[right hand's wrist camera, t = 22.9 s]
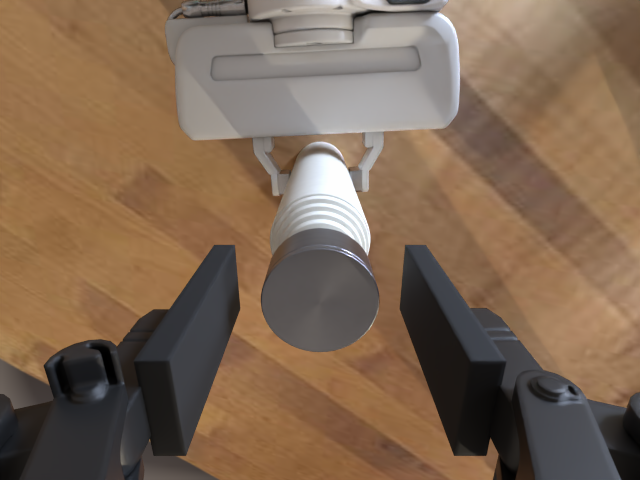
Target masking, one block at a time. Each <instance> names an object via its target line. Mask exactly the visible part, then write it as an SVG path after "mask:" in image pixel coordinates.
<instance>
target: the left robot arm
mask: <svg viewBox="0 0 640 480" xmlns="http://www.w3.org/2000/svg"><path fill="white" fill-rule="evenodd" d="M447 2H448V0H212V1H211V0H208V1H202V0H187V1H184V2H182V4H181V7H180V8H178V9H176V10H174V11H173V12H172V13H171V14H170V16H169V17H168V19H167V21H166V24H165V35H166V41H167V47H168V52H169V56H170V59H171V61H172V62H173V64H174V65H175V91H176V104H177V114H178V121H179V126H180V128H181V129H182V130H183V131H184V132H185V134H186V135H187V136H188V137H189V138H190V139H192V140H215V139H236V138H252V140H253V149H254V154H255V155H256V157H257V158H258V160H259V161H260V163H261V164H262V165H263V167H264V168H265V170H266V171H267V172H268V174H270V175H271V184H272V193H273V196H279V195H283V194H284V192H285V189H286V186H287V183H288V180H289V178H290V175H291V170H281V169H280V167H279V166H278V164H277V163H276V161H275V160H274V158H273V156H272V155H271V153H270V152H271V151H272V150H273V149H274V148H275V142H274V137H278V136H298V135H319V134H340V133H361V132H362V143H363V144H364V145H365V147H367V150H366V152H365V154H364V156H363V158H362V160H361V161H360V163H359V165H358V166H357V167H348V172H349V175H350V178H351V180H352V183H353V186H354V189H355V191H356V192H368V189H369V170H370V169H371V168H372V166H373V164H374V163H375V161H376V159H377V157H378V156H379V154H380V152H381V150H382V149H383V140H384V131H402V130H423V129H443V128H446V127H447V126H448V125H449V124H450V123H451V121H452V120H453V119H454V117H455V116H456V115H457V112H458V106H459V91H460V65H459V47H458V39H457V35H456V31H455V29H454V27H453V25H452V23H451V22H450V20H449V19H448V18H447V17H445V16H444V15H442V14H440V13H438V12H439V11H440V10H441V9H442V8H443V7H444V6H445V5H446V4H447ZM181 14H183V15H184V17H185V18H184V19H176V18H177V17H178V16H179V15H181ZM248 15H249V17H248ZM210 16H215V17H210ZM249 22H250V23H249Z"/></svg>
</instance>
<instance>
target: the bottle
mask: <svg viewBox="0 0 640 480" xmlns="http://www.w3.org/2000/svg"><path fill="white" fill-rule="evenodd" d="M313 228H327V229H333V230H336V231H339V232H342V233H344V234H346V235H348V236H350V237H351V238H353V239H354V240H355V241H356V242H358V243H359V244H360V246H361V247H362V248H363V249H364V251H365V252H366V254H367V256H368V252H369V248H370V232H369V227H368V224H367V222H366V219H365V216H364V213H363V211H362V208H361V205H360V202H359V200H358V197H357V194H356V191H355V189H354V186H353V183H352V180H351V178H350V175H349V172H348V169H347V167H346V164H345V161H344V158H343V156H342V154H341V153H340V151H339V150H338V149H337V148H336V147H335V146H333V145H331V144H329V143H326V142H314V143H311V144H309V145H307V146H306V147H304V148H303V149H302V150H301V151H300V153H299V154H298V156H297V158H296V161H295V164H294V167H293V169H292V172H291V175H290V178H289V180H288V183H287V186H286V189H285V192H284V194H283V197H282V200H281V203H280V205H279V208H278V211H277V214H276V216H275V219H274V222H273V225H272V228H271V233H270V246H271V251H272V255H273V254H274V253H275V251H276V250H277V248H278V247H279V246H280V245H281V244H282V243H283V242H284V241H285V240H286V239H287V238H289V237H291V236H292V235H294V234H296V233H298V232H301V231H304V230H307V229H313Z"/></svg>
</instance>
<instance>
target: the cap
mask: <svg viewBox="0 0 640 480" xmlns="http://www.w3.org/2000/svg"><path fill="white" fill-rule="evenodd" d="M261 306H262V311H263V315H264V317H265V320H266V322H267V324H268V325H269V327H270V328H271V329H272V331H273V332H274V333H275V334H276V335H277V336H278V337H279V338H280V339H282V340H283V341H285V342H286V343H288V344H290V345H292V346H294V347H296V348H299V349H302V350H306V351H312V352H328V351H334V350H338V349H341V348H344V347H346V346H349V345H351V344H352V343H354V342H356V341H357V340H358V339H360V338H361V337H362V336H363V335H364V334H365V333H366V332H367V331H368V330H369V329H370V327H371V326H372V324H373V322H374V320H375V318H376V316H377V312H378V308H379V292H378V287H377V284H376V281H375V277H374V274H373V271H372V267H371V264H370V261H369V258H368V256H367V254H366V252H365V251H364V249H363V248H362V247H361V246H360V244H359V243H358V242H356V241H355V240H354V239H353V238H351V237H350V236H348V235H346V234H344V233H342V232H339V231H336V230H333V229H327V228H313V229H307V230H304V231H301V232H298V233H296V234H294V235H292V236H291V237H289V238H287V239H286V240H285V241H284V242H283V243H282V244H281V245H280V246H279V247H278V248H277V250H276V251H275V253H274V254H273V256H272V258H271V261H270V264H269V268H268V271H267V275H266V278H265V281H264V285H263V288H262V293H261Z"/></svg>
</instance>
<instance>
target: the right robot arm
mask: <svg viewBox="0 0 640 480" xmlns="http://www.w3.org/2000/svg"><path fill="white" fill-rule="evenodd" d="M239 311H240V300H239V289H238V277H237V266H236V254H235V245H214V246H213V248H212V249H211V251H210V252H209V253H208V255H207V256H206V258H205V259H204V261H203V262H202V263H201V265H200V266H199V268H198V269H197V271H196V272H195V273H194V275H193V276H192V278H191V279H190V281H189V282H188V284H187V285H186V286H185V288H184V289H183V291H182V292H181V294H180V295H179V296H178V298H177V299H176V301H175V302H174V304H173V305H172V306H171V308H170V309H154V310H152V311H151V312H149V313H148V314H146V315H145V316H143V317H142V318H140V319H139V320H138V321H137V322H136V324H135V325H134V326H133V327H132V329H131V330H130V332H128V334H127V335H126V336H125V337H124V339H123V342H120V344H119V345H118V346H117V347H116V345H115V344H113V343H112V342H111V341H106V340H101V339H99V340H87V341H84V342H80V343H76V344H73V345H71V346H69V347H66V348H64V349H62V350H60V351H59V352H57V353H56V354H55V355H53V356H52V357H50V359H49V360H48V361H47V362H46V363H45V365H44V368H45V372H46V375H47V378H48V381H49V384H50V387H51V390H52V393H53V396H54V399H53V401H50V402H47V403H42V404H37V405H33V406H28V407H24V408H20V409H15V410H14V409H13V406H12V403H11V400H10V399H9V398H8V397H7V396H5V395H4V394H0V480H143V478H144V465H143V460H142V456H141V455H142V453H143V451H144V449H145V447H146V445H147V443H148V441H149V439H150V441H151V445H152V450H153V455H154V456H186V454H187V451H188V448H189V446H190V443H191V440H192V438H193V435H194V432H195V430H196V427H197V424H198V421H199V419H200V416H201V413H202V411H203V408H204V405H205V403H206V400H207V397H208V394H209V392H210V389H211V386H212V384H213V381H214V378H215V376H216V373H217V370H218V368H219V365H220V362H221V359H222V357H223V354H224V351H225V349H226V346H227V343H228V341H229V338H230V335H231V332H232V330H233V327H234V324H235V322H236V319H237V316H238V314H239ZM400 311H401V314H402V316H403V319H404V322H405V324H406V327H407V330H408V332H409V335H410V338H411V341H412V343H413V346H414V349H415V351H416V354H417V357H418V359H419V362H420V365H421V368H422V370H423V373H424V376H425V378H426V381H427V384H428V386H429V389H430V392H431V395H432V397H433V400H434V403H435V405H436V408H437V411H438V413H439V416H440V419H441V421H442V424H443V427H444V430H445V432H446V435H447V438H448V440H449V443H450V446H451V448H452V451H453V454H454V456H486V455H487V450H488V445H489V441H490V437H491V439H492V441H493V443H494V445H495V447H496V449H497V451H498V453H499V456H498V460H497V464H496V469H495V473H494V477H493V480H640V392H639V393H636V394H634V395H633V396H632V397H631V398H630V400H629V403H628V406H627V408H624V407H619V406H615V405H610V404H606V403H601V402H597V401H592V400H589V399H586V397H585V395H584V394H583V393H582V391H581V390H580V388H578V387H577V386H576V385H575V384H573V383H572V382H571V381H570V380H568V379H566V378H564V377H562V376H560V375H558V374H555V373H551V372H548V371H545V370H543V369H542V368H541V367H540V365H539V364H538V363H537V362H536V360H535V359H534V358H533V357H532V356H531V354H530V353H529V352H528V351H527V349H526V348H525V347H524V346H523V344H522V343H521V342H520V341H519V340H517V337H516V336H515V334H514V333H513V332H512V331H510V328H509V327H508V326H507V325H506V323H505V322H504V321H503V320H502V318H501V317H499V316H498V315H496V314H494V313H493V312H491V311H490V310H488V309H487V308H469V306H468V305H467V304H466V302H465V301H464V299H463V298H462V296H461V295H460V294H459V292H458V291H457V289H456V288H455V286H454V285H453V284H452V282H451V281H450V279H449V278H448V276H447V275H446V273H445V272H444V271H443V269H442V268H441V266H440V265H439V263H438V262H437V261H436V259H435V258H434V256H433V255H432V253H431V252H430V251H429V249H428V248H427V246H426V245H405V254H404V266H403V277H402V289H401V300H400Z"/></svg>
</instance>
